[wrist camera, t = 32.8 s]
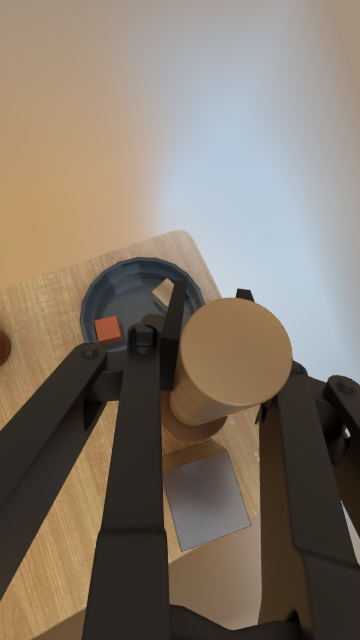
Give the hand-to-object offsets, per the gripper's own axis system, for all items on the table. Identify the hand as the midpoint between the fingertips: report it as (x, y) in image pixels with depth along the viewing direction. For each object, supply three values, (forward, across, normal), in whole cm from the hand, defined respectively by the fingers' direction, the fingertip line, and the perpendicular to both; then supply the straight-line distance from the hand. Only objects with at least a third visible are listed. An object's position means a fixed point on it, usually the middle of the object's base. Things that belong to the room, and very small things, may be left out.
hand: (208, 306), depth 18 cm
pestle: (0, 0, -8) cm, 8 cm away
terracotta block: (+25, -13, -19) cm, 34 cm away
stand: (+12, +4, -33) cm, 36 cm away
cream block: (+31, -5, -14) cm, 34 cm away
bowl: (+28, -8, -18) cm, 34 cm away
